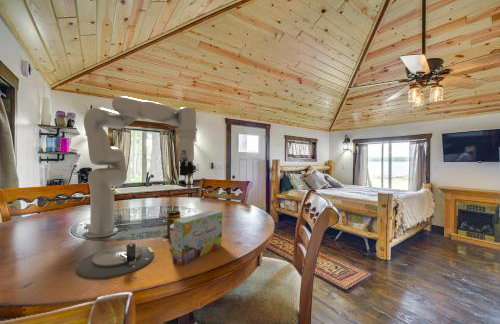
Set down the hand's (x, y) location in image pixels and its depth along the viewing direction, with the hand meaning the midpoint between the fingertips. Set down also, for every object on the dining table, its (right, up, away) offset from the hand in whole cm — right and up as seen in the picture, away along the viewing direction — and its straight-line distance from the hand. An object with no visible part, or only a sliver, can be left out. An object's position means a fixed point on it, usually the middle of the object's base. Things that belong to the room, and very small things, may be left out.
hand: (186, 174), depth 96 cm
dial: (-18, -28, -20) cm, 39 cm away
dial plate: (-19, -30, -19) cm, 40 cm away
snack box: (+8, -30, -12) cm, 34 cm away
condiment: (-8, -30, +5) cm, 31 cm away
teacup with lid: (-1, -30, -8) cm, 31 cm away
